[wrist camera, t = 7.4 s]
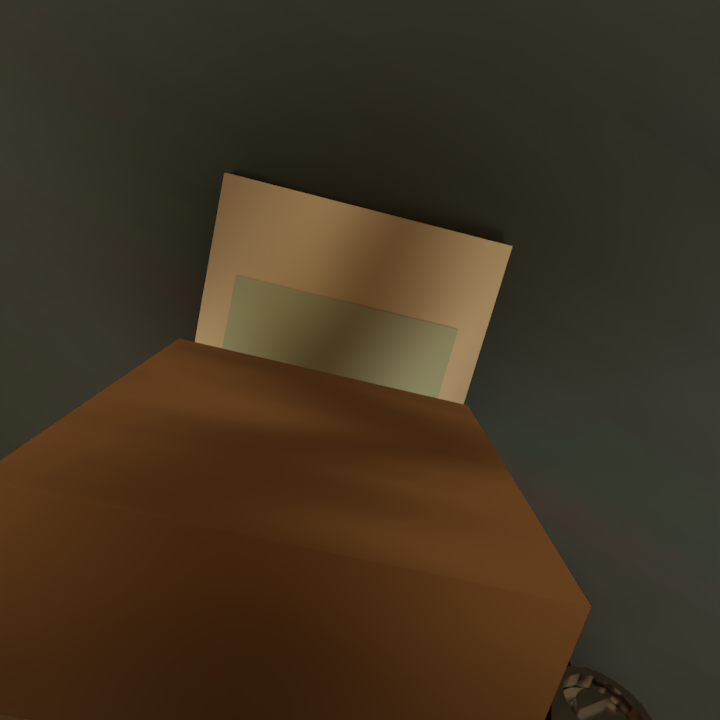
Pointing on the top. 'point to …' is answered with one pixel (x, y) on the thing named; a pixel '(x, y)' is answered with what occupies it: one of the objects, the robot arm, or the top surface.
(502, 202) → the top surface
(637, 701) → the robot arm
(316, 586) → the teak cube
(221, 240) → the beige flat rectangular piece
